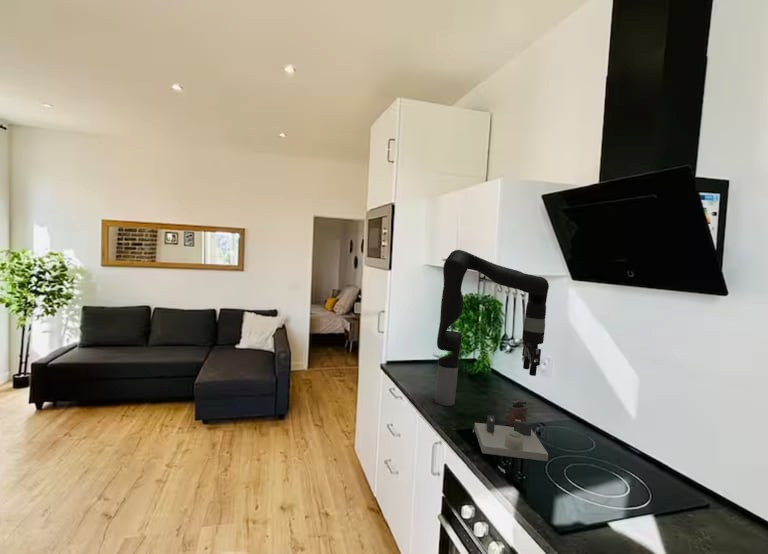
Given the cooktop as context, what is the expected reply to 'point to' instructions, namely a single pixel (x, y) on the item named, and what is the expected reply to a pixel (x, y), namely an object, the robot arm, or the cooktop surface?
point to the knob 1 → (490, 423)
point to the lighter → (517, 412)
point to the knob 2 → (522, 427)
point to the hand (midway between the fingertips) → (529, 372)
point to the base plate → (504, 451)
